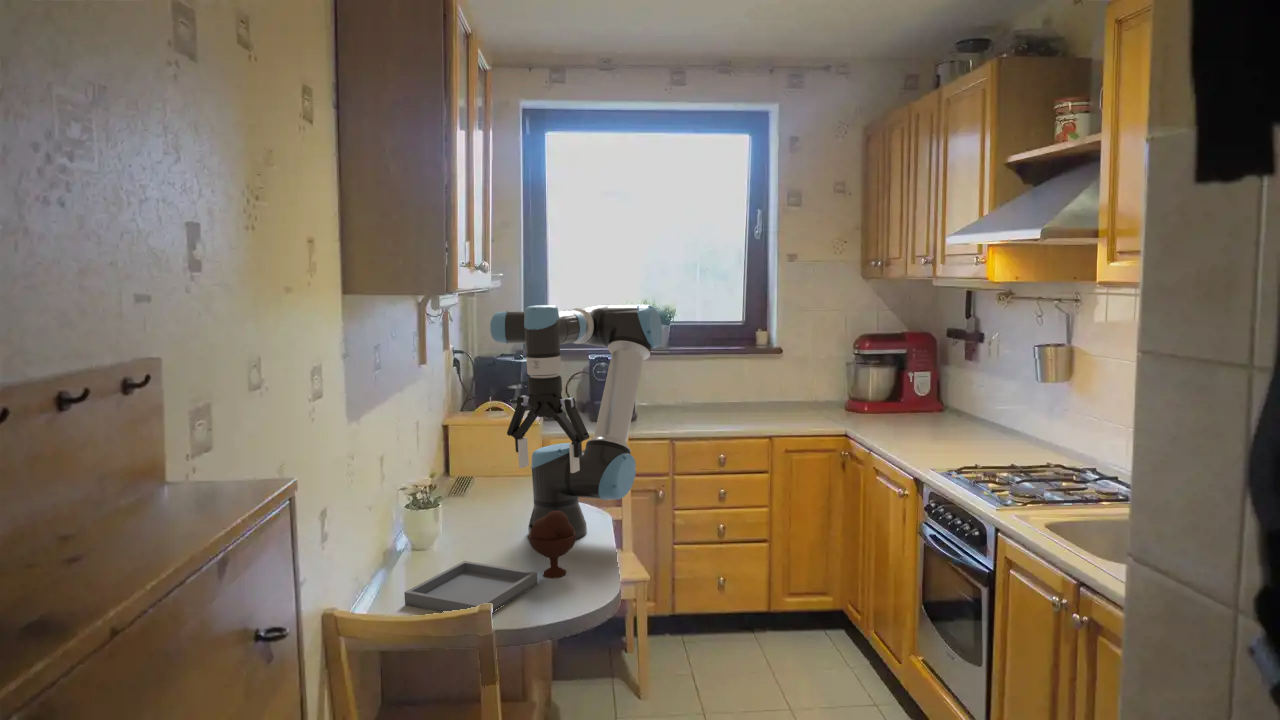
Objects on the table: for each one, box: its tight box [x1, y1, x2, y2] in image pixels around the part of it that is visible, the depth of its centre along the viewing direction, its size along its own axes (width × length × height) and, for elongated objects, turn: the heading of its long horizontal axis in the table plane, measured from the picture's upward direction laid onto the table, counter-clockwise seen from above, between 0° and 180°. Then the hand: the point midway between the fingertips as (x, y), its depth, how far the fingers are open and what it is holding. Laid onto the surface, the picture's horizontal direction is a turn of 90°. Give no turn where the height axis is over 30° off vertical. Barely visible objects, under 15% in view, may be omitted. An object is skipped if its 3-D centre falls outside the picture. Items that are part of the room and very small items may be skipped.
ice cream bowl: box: [528, 510, 576, 579], centre depth 198 cm, size 11×11×15 cm
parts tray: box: [404, 560, 538, 613], centre depth 188 cm, size 20×20×3 cm
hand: (549, 469), depth 195 cm, fingers open, 13 cm apart
